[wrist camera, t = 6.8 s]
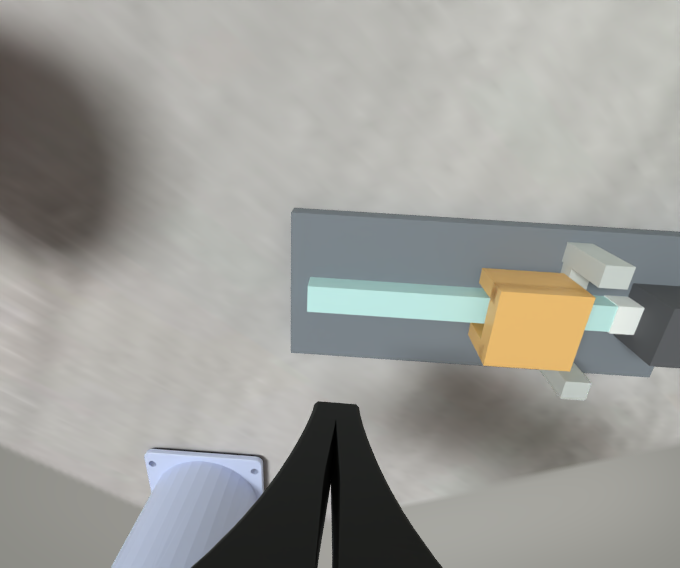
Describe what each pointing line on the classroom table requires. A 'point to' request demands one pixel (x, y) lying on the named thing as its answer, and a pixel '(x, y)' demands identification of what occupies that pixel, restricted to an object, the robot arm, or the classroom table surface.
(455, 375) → the classroom table surface
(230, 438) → the classroom table surface
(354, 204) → the classroom table surface
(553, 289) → the sleeve
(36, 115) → the classroom table surface
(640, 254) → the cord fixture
